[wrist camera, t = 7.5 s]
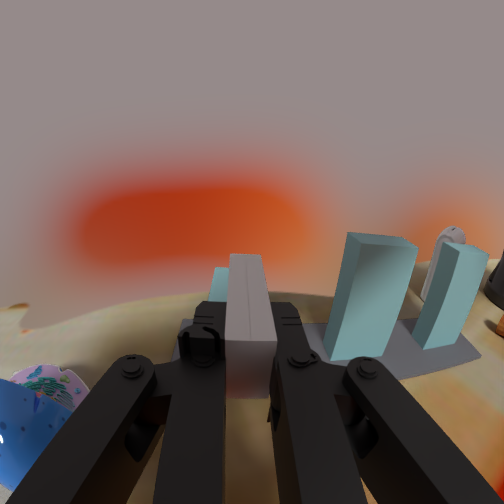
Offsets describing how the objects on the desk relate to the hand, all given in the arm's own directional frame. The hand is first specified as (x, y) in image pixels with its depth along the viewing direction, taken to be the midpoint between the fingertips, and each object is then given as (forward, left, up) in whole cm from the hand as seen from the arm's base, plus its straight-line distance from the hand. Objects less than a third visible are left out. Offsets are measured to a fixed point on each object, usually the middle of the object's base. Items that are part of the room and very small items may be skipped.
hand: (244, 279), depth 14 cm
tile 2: (-12, -8, -12) cm, 18 cm away
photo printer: (-34, -20, -12) cm, 41 cm away
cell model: (+13, +7, -12) cm, 19 cm away
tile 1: (-24, -8, -12) cm, 28 cm away
